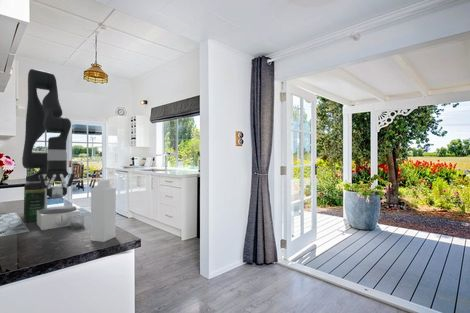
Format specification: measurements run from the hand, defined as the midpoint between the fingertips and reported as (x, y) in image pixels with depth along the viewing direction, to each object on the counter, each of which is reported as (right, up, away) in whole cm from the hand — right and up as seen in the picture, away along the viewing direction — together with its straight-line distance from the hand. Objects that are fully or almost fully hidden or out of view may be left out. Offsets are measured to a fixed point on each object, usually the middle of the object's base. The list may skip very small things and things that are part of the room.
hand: (56, 196), depth 120 cm
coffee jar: (-13, -12, +3) cm, 18 cm away
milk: (+33, -13, -23) cm, 42 cm away
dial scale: (+2, -12, -2) cm, 13 cm away
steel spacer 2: (+14, -12, -7) cm, 20 cm away
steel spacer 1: (0, -1, 0) cm, 1 cm away
